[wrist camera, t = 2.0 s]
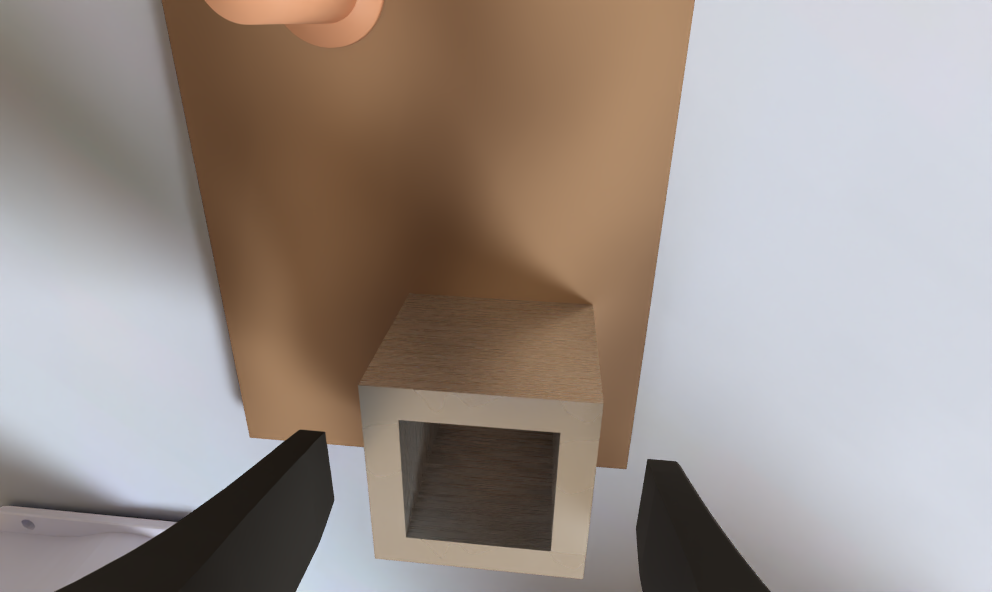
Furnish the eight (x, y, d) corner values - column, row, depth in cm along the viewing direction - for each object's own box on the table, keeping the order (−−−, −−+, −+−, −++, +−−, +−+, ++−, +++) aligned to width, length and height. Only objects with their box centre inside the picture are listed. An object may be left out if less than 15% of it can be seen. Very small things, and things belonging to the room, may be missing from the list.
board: (264, 418, 20) (249, 437, 19) (132, -290, 12) (98, -315, 11) (623, 448, 19) (626, 468, 18) (729, -306, 11) (743, -335, 10)
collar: (416, 438, 18) (375, 558, 14) (409, 293, 16) (358, 385, 12) (578, 452, 18) (582, 578, 14) (592, 304, 16) (603, 403, 12)
